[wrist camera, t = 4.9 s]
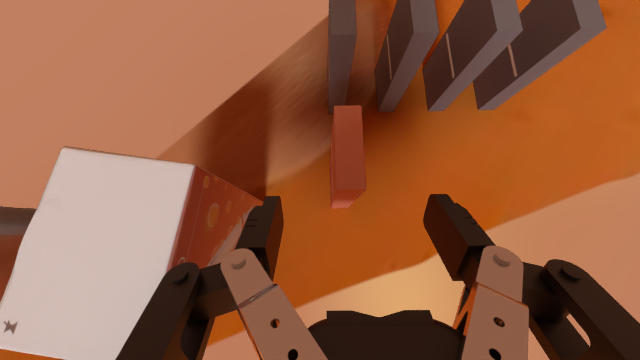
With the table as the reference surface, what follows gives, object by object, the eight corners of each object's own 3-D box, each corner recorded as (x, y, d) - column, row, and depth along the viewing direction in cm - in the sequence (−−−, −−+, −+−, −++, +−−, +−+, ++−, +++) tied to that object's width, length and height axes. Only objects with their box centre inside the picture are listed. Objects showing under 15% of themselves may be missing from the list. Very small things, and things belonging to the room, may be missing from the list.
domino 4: (427, 111, 24) (497, 30, 15) (422, 69, 26) (483, -32, 16) (443, 110, 24) (523, 30, 15) (437, 68, 26) (508, -32, 16)
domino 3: (377, 112, 25) (413, 32, 15) (374, 70, 26) (406, -30, 16) (393, 111, 25) (439, 32, 15) (389, 70, 26) (430, -30, 16)
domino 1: (328, 113, 25) (331, 34, 15) (327, 71, 26) (329, -28, 16) (343, 112, 25) (357, 34, 15) (342, 71, 26) (353, -28, 16)
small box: (251, 290, 21) (139, 380, 8) (182, 280, 21) (-28, 352, 9) (267, 200, 23) (195, 161, 10) (203, 192, 23) (54, 143, 10)
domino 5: (478, 110, 24) (580, 28, 15) (470, 68, 25) (561, -34, 16) (493, 109, 24) (607, 28, 15) (485, 67, 25) (586, -35, 16)
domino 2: (330, 208, 22) (336, 189, 13) (329, 158, 24) (333, 105, 14) (347, 207, 22) (366, 189, 13) (345, 157, 24) (361, 105, 14)
